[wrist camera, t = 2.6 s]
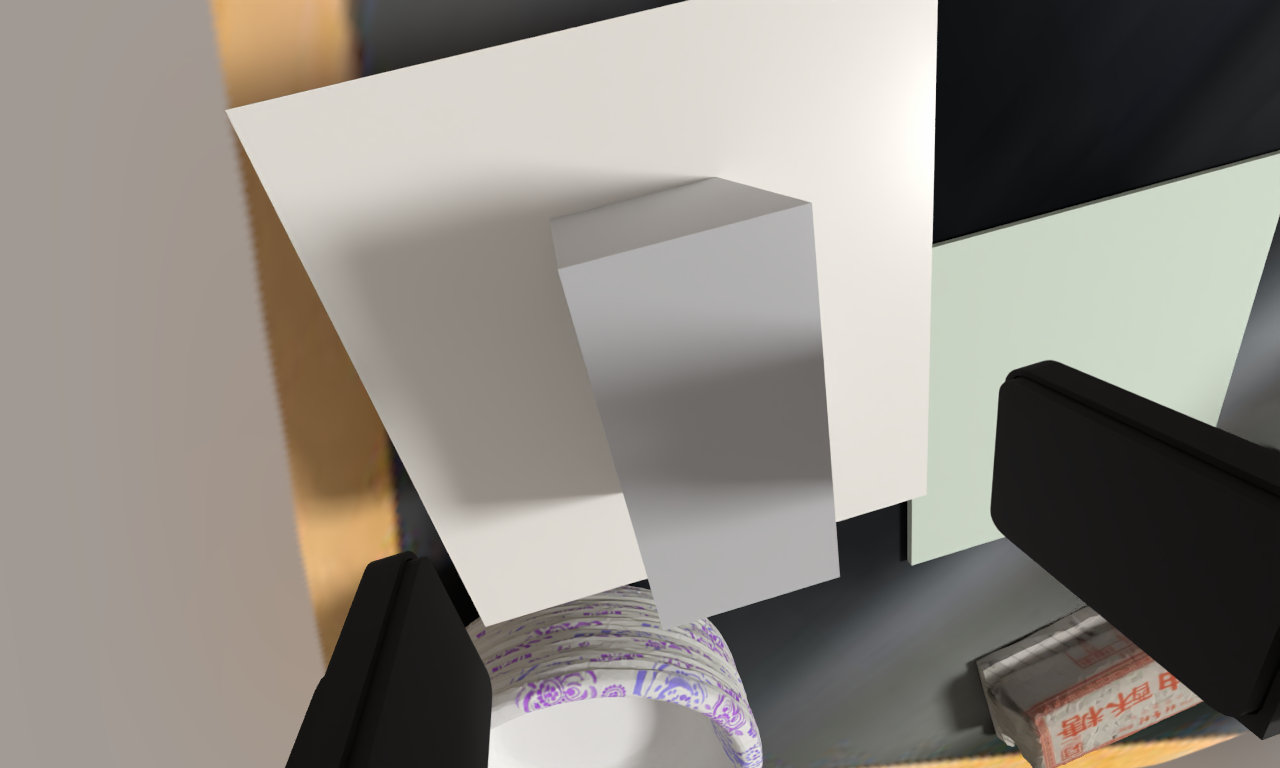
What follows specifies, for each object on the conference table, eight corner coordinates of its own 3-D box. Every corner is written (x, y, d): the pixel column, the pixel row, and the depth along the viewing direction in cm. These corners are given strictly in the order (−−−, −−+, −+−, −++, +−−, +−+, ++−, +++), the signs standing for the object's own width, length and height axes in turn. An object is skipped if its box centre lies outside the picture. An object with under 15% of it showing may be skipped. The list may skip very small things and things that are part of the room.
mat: (1288, 147, 24) (1299, 148, 24) (1193, 472, 32) (1200, 476, 32) (907, 250, 23) (913, 252, 23) (907, 560, 31) (911, 565, 31)
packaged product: (1042, 799, 37) (1024, 724, 33) (989, 729, 41) (967, 654, 37) (1295, 683, 36) (1312, 589, 32) (1214, 624, 41) (1219, 534, 36)
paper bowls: (410, 735, 30) (372, 919, 23) (458, 514, 25) (427, 667, 18) (665, 741, 35) (699, 900, 27) (754, 553, 29) (824, 690, 22)
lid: (873, -29, 14) (1189, -175, 7) (884, 455, 21) (1052, 613, 14) (278, 113, 13) (3, 97, 6) (491, 570, 20) (468, 798, 13)
